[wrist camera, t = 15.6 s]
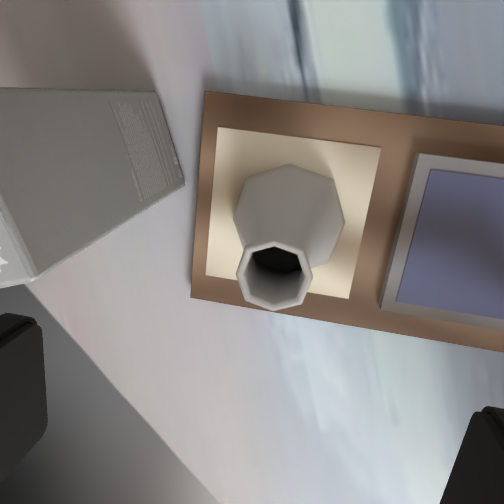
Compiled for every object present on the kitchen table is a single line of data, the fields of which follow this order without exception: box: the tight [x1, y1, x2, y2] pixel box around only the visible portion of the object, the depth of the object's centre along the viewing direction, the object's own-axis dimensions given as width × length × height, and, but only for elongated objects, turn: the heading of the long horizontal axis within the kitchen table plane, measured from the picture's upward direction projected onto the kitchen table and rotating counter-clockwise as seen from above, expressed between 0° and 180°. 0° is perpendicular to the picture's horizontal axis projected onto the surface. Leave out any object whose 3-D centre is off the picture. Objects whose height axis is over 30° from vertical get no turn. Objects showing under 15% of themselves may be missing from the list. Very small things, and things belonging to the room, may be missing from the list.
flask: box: [233, 163, 346, 311], centre depth 21 cm, size 7×7×10 cm
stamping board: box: [190, 91, 504, 352], centre depth 25 cm, size 14×24×2 cm, turn 83°
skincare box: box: [0, 87, 185, 288], centre depth 20 cm, size 8×7×16 cm
